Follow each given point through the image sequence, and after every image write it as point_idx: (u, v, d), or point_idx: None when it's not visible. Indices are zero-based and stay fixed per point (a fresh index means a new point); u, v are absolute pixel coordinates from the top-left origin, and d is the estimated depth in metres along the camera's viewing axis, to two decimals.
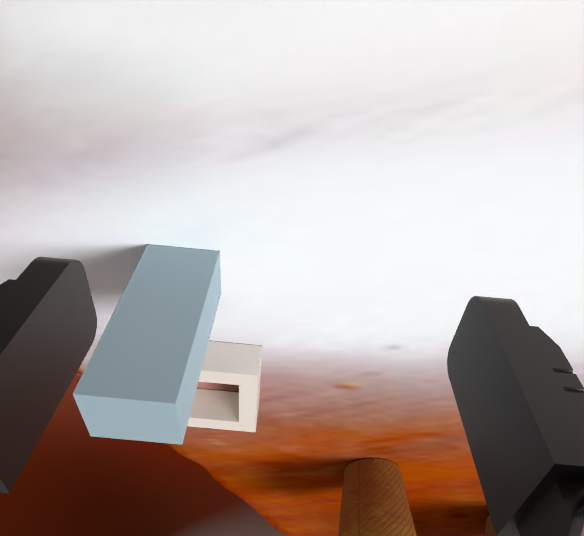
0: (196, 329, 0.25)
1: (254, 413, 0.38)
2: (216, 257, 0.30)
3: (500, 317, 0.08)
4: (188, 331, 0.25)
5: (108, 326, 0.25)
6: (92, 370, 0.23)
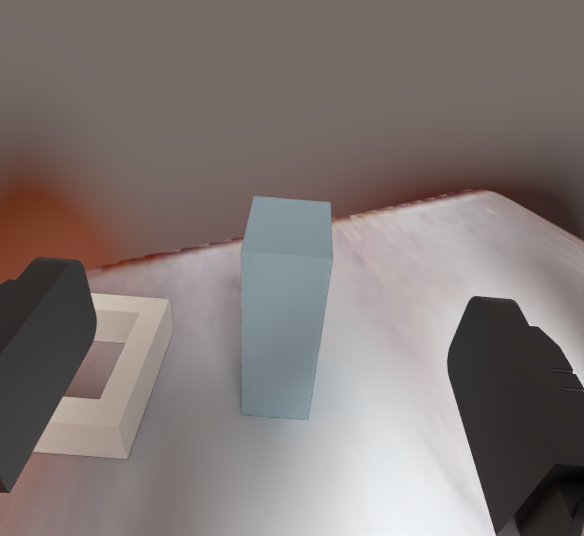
0: (320, 335, 0.22)
1: None
2: (309, 411, 0.26)
3: (500, 317, 0.08)
4: None
5: None
6: None
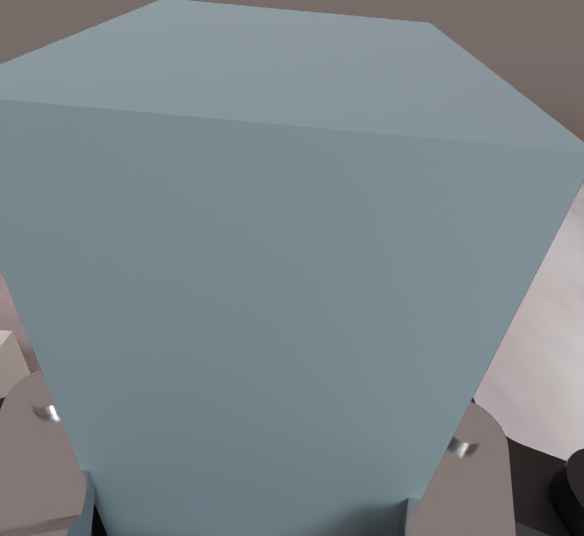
0: None
1: None
2: None
3: None
4: None
5: None
6: None
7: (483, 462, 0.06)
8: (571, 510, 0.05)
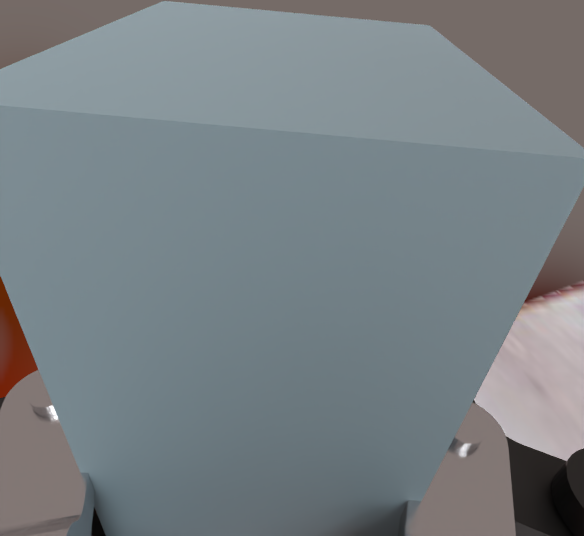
0: None
1: None
2: None
3: None
4: None
5: None
6: None
7: (483, 462, 0.06)
8: (571, 510, 0.05)
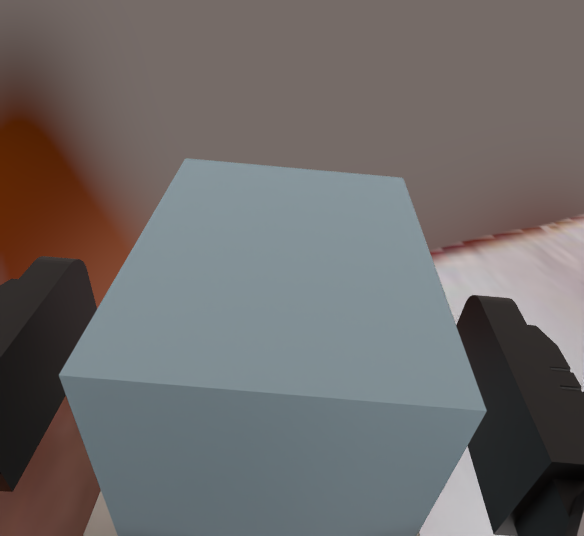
0: None
1: None
2: None
3: (498, 316, 0.08)
4: None
5: None
6: None
7: None
8: None
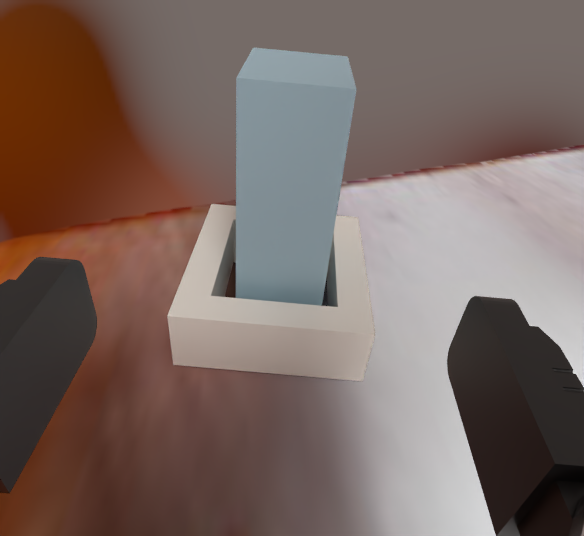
0: (334, 214, 0.18)
1: (243, 320, 0.18)
2: None
3: (500, 317, 0.08)
4: None
5: None
6: None
7: None
8: None
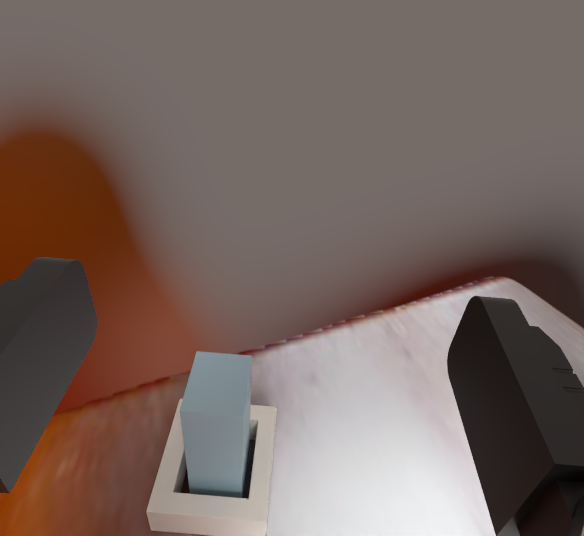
0: (241, 457, 0.31)
1: (190, 513, 0.32)
2: None
3: (500, 317, 0.08)
4: (243, 449, 0.31)
5: (250, 395, 0.34)
6: (251, 373, 0.32)
7: None
8: None
